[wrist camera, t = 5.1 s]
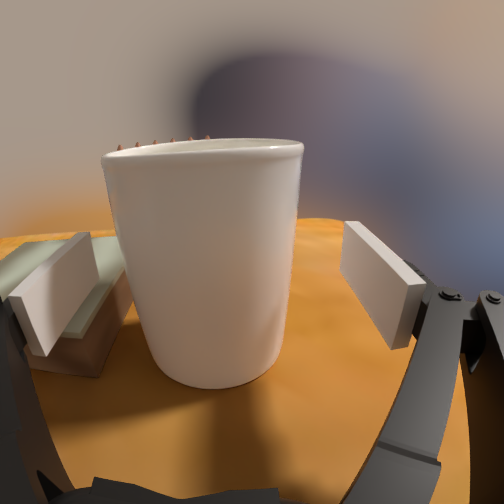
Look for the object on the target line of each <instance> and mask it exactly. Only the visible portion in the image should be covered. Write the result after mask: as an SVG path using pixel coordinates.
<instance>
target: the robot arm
mask: <svg viewBox="0 0 504 504" xmlns="http://www.w3.org/2000/svg"><path fill="white" fill-rule="evenodd" d="M340 272H341V273H342V275H343V276H344V278H345V279H346V281H347V282H348V284H349V285H350V287H351V288H352V290H353V291H354V293H355V294H356V296H357V297H358V299H359V301H360V302H361V304H362V305H363V307H364V308H365V310H366V311H367V313H368V314H369V316H370V318H371V319H372V321H373V322H374V324H375V325H376V327H377V329H378V330H379V332H380V333H381V335H382V337H383V338H384V340H385V342H386V343H387V345H388V346H389V348H390V350H394V349H399V348H405V347H408V345H409V342H410V339H411V336H412V334H413V336H414V337H415V338H416V340H417V342H416V344H415V347H414V350H413V353H412V355H411V358H410V361H409V364H408V367H407V370H406V372H405V375H404V378H403V380H402V383H401V385H400V388H399V390H398V393H397V395H396V397H395V400H394V402H393V404H392V407H391V409H390V411H389V413H388V416H387V418H386V420H385V422H384V424H383V426H382V428H381V431H380V433H379V435H378V437H377V439H376V441H375V443H374V445H373V447H372V448H371V450H370V452H369V454H368V456H367V458H366V460H365V462H364V463H363V465H362V467H361V469H360V470H359V472H358V474H357V476H356V477H355V479H354V481H353V482H352V484H351V486H350V487H349V489H348V491H347V492H346V494H345V495H344V497H343V498H342V500H341V501H340V503H339V504H429V502H430V500H431V497H432V495H433V492H434V489H435V486H436V483H437V481H438V478H439V474H440V470H441V462H438V461H437V456H438V452H439V449H440V446H441V442H442V439H443V435H444V431H445V428H446V424H447V420H448V415H449V411H450V407H451V402H452V397H453V392H454V387H455V381H456V375H457V369H458V363H459V358H460V364H461V370H462V376H463V382H464V389H465V397H466V405H467V415H468V426H469V441H470V502H469V504H504V297H503V296H502V295H500V294H499V293H496V292H495V291H489V290H484V291H481V292H480V294H479V297H478V300H477V302H471V301H464V297H463V296H462V295H461V293H459V292H458V291H456V290H454V289H451V288H448V287H437V286H436V285H435V284H434V283H433V282H432V281H431V280H430V279H428V278H427V277H426V276H424V274H423V273H422V272H421V271H420V270H419V269H418V268H416V267H415V266H414V265H413V264H411V263H409V262H407V261H405V260H402V259H400V258H399V257H398V256H397V255H396V254H395V253H394V252H393V251H392V250H391V249H389V248H388V247H387V246H386V245H385V244H384V243H383V242H381V241H380V240H379V239H378V238H377V237H376V236H375V235H374V234H372V233H371V232H370V231H369V230H368V229H367V228H365V227H364V226H363V225H362V224H361V223H360V222H358V221H345V222H344V232H343V242H342V252H341V262H340ZM99 279H100V277H99V273H98V269H97V264H96V260H95V255H94V251H93V246H92V241H91V236H90V232H78V233H77V234H75V235H74V236H73V237H72V238H71V239H69V240H68V241H67V242H66V243H65V244H63V245H62V246H61V247H60V248H59V249H58V250H56V251H55V252H54V253H53V254H52V255H51V256H50V257H48V258H47V259H46V260H45V261H44V262H43V263H42V264H41V265H40V266H38V267H37V268H36V269H35V270H34V271H33V272H32V273H31V274H30V275H29V276H28V277H27V278H25V279H24V280H23V281H22V282H21V283H20V284H19V285H18V286H17V287H16V288H15V289H14V290H13V291H12V292H11V293H10V294H9V295H8V297H7V298H6V299H5V300H4V301H3V302H2V299H1V296H0V504H308V503H304V502H301V501H297V500H292V499H286V498H279V491H278V488H269V489H254V490H229V491H225V492H220V493H215V494H210V495H205V496H200V497H194V498H188V499H176V498H172V497H169V496H166V495H163V494H160V493H157V492H154V491H151V490H149V489H146V488H143V487H140V486H138V485H135V484H130V483H124V482H118V481H113V480H108V479H103V478H98V477H94V479H93V483H92V487H86V488H79V489H75V488H74V486H73V485H72V483H71V481H70V480H69V478H68V475H67V473H66V471H65V469H64V467H63V465H62V462H61V460H60V458H59V455H58V453H57V451H56V448H55V446H54V443H53V441H52V438H51V436H50V433H49V430H48V428H47V425H46V422H45V419H44V416H43V413H42V410H41V407H40V404H39V401H38V397H37V394H36V391H35V387H34V384H33V380H32V376H31V372H30V368H29V364H28V360H27V356H26V354H25V352H24V350H23V348H24V347H25V345H26V344H28V346H29V348H30V350H31V352H32V354H33V355H37V356H44V357H47V355H48V354H49V352H50V351H51V349H52V347H53V346H54V344H55V343H56V341H57V340H58V338H59V336H60V335H61V333H62V332H63V330H64V329H65V327H66V326H67V324H68V323H69V321H70V320H71V318H72V317H73V316H74V314H75V313H76V311H77V310H78V308H79V307H80V305H81V304H82V303H83V301H84V300H85V298H86V297H87V296H88V294H89V293H90V291H91V290H92V289H93V287H94V286H95V285H96V283H97V282H98V281H99Z"/></svg>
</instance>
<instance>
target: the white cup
mask: <svg viewBox="0 0 504 504" xmlns="http://www.w3.org/2000/svg"><path fill="white" fill-rule="evenodd" d="M303 152H304V145H303V143H301V142H298V141H292V140H281V139H257V138H256V139H255V138H249V139H248V138H241V139H209V140H195V141H194V140H193V141H181V142H171V143H163V144H155V145H148V146H141V147H135V148H129V149H124V150H119V151H115V152H112V153H108V154H105V155H103V156H102V157H101V165H102V168H103V171H104V176H105V180H106V186H107V192H108V197H109V202H110V207H111V212H112V217H113V222H114V227H115V231H116V236H117V240H118V244H119V249H120V253H121V257H122V261H123V265H124V269H125V272H126V276H127V280H128V283H129V287H130V290H131V294H132V297H133V301H134V304H135V307H136V311H137V314H138V317H139V320H140V323H141V326H142V329H143V332H144V335H145V338H146V341H147V344H148V346H149V349H150V352H151V354H152V356H153V359H154V361H155V362H156V364H157V366H158V367H159V368H160V369H161V370H162V371H163V372H164V373H165V374H166V375H167V376H169V377H170V378H172V379H173V380H175V381H177V382H179V383H182V384H184V385H187V386H191V387H195V388H202V389H224V388H230V387H235V386H239V385H242V384H245V383H247V382H250V381H252V380H254V379H256V378H258V377H259V376H261V375H262V374H263V373H265V372H266V371H267V370H268V369H269V368H270V367H271V366H272V365H273V364H274V363H275V361H276V360H277V358H278V356H279V354H280V351H281V347H282V343H283V337H284V330H285V323H286V315H287V307H288V299H289V291H290V282H291V273H292V263H293V253H294V243H295V233H296V222H297V211H298V200H299V187H300V175H301V164H302V156H303Z"/></svg>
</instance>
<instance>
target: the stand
mask: <svg viewBox="0 0 504 504" xmlns="http://www.w3.org/2000/svg"><path fill="white" fill-rule="evenodd" d="M68 240H69V239H66V240H52V241H39V242H26V243H23V244H22V245H21V246H19V247H18V248H17V249H15V250H14V251H13V252H11V253H10V254H9V255H7V256H6V257H5V258H4V259H2V260H1V261H0V296H1V299H2V302H3V301H4V300H5V299H6V298H7V297H8V295H9V294H10V293H11V292H12V291H13V290H14V289H15V288H16V287H17V286H18V285H19V284H20V283H21V282H22V281H23V280H24V279H25V278H27V277H28V276H29V275H30V274H31V273H32V272H33V271H34V270H35V269H36V268H37V267H38V266H40V265H41V264H42V263H43V262H44V261H45V260H46V259H47V258H48V257H50V256H51V255H52V254H53V253H54V252H55V251H56V250H58V249H59V248H60V247H61V246H62V245H63V244H65V243H66V242H67V241H68ZM91 241H92V246H93V251H94V255H95V260H96V264H97V269H98V273H99V277H100V279H99V281H98V282H97V283H96V285H95V286H94V287H93V289H92V290H91V291H90V293H89V294H88V296H87V297H86V298H85V300H84V301H83V303H82V304H81V305H80V307H79V308H78V310H77V311H76V313H75V314H74V316H73V317H72V318H71V320H70V321H69V323H68V324H67V326H66V327H65V329H64V330H63V332H62V333H61V335H60V336H59V338H58V340H57V341H56V343H55V344H54V346H53V347H52V349H51V351H50V352H49V354H48V355H47V357H44V356H37V355H33V354H32V352H31V350H30V348H29V346H28V344H26V345H25V347H24V348H23V350H24V352H25V354H26V356H27V360H28V364H29V368H32V369H38V370H43V371H50V372H56V373H63V374H70V375H78V376H86V377H95V378H98V377H99V375H100V373H101V370H102V368H103V366H104V363H105V361H106V358H107V356H108V354H109V352H110V349H111V347H112V345H113V342H114V340H115V338H116V336H117V334H118V331H119V329H120V327H121V325H122V323H123V321H124V318H125V316H126V314H127V312H128V310H129V308H130V306H131V304H132V302H133V297H132V294H131V290H130V287H129V283H128V280H127V276H126V272H125V269H124V265H123V261H122V257H121V253H120V249H119V244H118V240H117V236H112V237H96V238H91Z"/></svg>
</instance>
